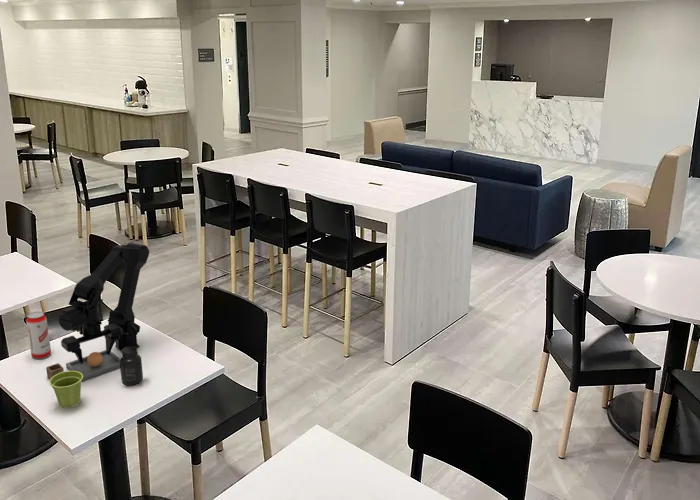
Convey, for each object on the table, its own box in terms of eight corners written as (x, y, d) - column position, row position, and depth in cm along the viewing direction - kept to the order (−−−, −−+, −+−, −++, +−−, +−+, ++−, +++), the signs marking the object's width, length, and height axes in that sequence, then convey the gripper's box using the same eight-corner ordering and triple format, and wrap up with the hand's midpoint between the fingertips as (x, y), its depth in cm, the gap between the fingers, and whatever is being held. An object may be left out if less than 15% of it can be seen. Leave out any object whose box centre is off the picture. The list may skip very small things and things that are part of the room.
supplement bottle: (147, 378, 202) (145, 346, 198) (134, 388, 196) (131, 356, 192) (130, 374, 204) (127, 342, 200) (117, 384, 198) (113, 352, 194)
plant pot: (61, 415, 181) (58, 390, 178) (47, 402, 187) (43, 378, 184) (91, 402, 188) (88, 378, 185) (76, 390, 194) (73, 367, 191)
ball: (99, 360, 211) (98, 347, 209) (106, 366, 207) (104, 353, 206) (85, 365, 207) (83, 352, 206) (91, 371, 204) (90, 358, 202)
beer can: (55, 351, 216) (49, 311, 211) (44, 360, 210) (39, 319, 205) (38, 350, 216) (32, 310, 211) (27, 359, 211) (21, 317, 205)
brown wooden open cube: (59, 373, 203) (58, 363, 202) (64, 378, 200) (63, 367, 199) (47, 377, 200) (46, 367, 199) (52, 382, 198) (50, 371, 196)
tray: (108, 353, 217) (108, 349, 216) (124, 366, 209) (124, 362, 208) (66, 368, 206) (65, 363, 206) (81, 382, 198) (80, 377, 198)
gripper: (106, 302, 213) (110, 341, 218) (51, 318, 200) (57, 359, 205) (121, 313, 206) (125, 353, 211) (65, 329, 193) (71, 372, 198)
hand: (94, 359), depth 206 cm, fingers open, 9 cm apart
